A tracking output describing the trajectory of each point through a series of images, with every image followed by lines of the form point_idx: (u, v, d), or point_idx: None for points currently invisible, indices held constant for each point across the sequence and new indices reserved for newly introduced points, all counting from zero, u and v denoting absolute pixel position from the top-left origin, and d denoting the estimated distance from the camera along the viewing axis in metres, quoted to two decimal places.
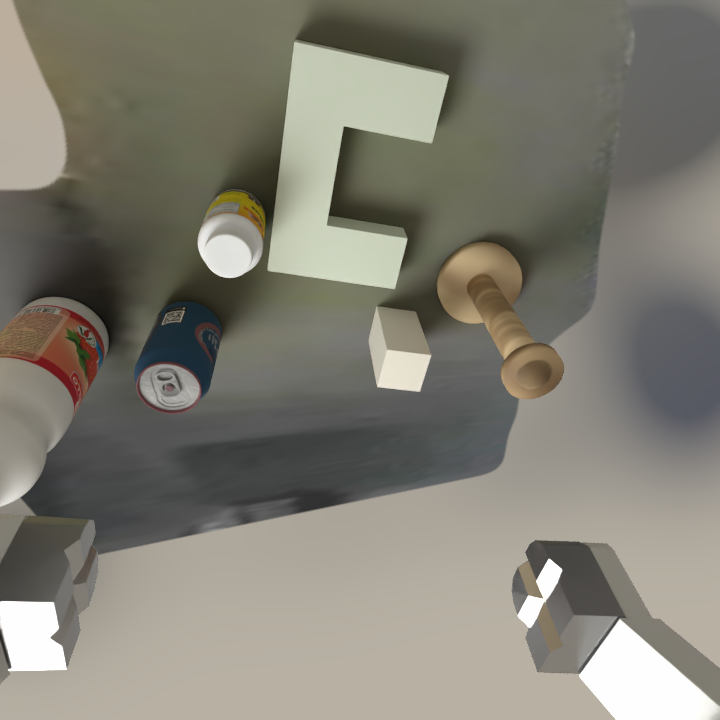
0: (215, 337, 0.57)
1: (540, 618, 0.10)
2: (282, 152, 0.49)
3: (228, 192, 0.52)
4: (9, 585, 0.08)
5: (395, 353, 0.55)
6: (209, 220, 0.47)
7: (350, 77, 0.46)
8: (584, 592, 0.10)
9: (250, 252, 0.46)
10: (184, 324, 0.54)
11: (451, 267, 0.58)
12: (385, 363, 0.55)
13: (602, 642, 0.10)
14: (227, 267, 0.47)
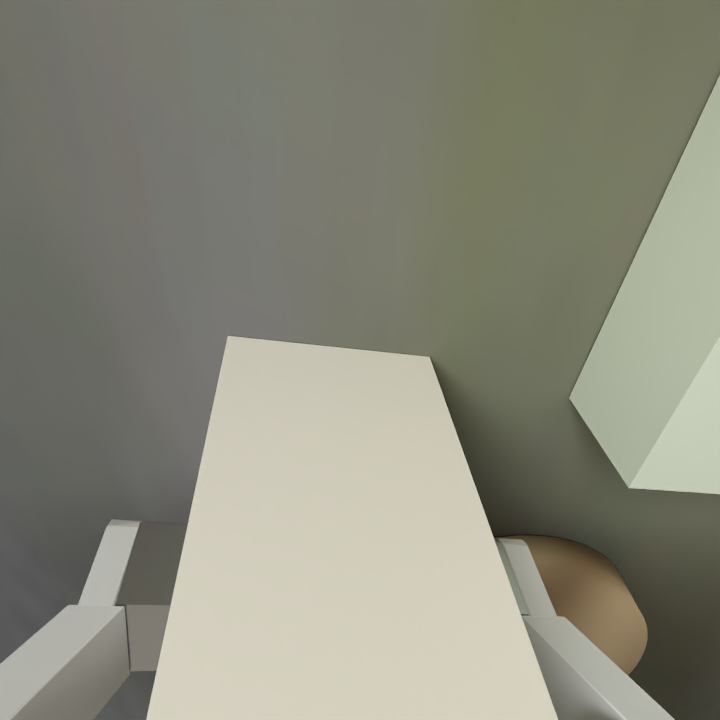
0: None
1: None
2: None
3: None
4: (139, 589, 0.08)
5: None
6: None
7: None
8: None
9: None
10: None
11: (601, 596, 0.16)
12: None
13: None
14: None
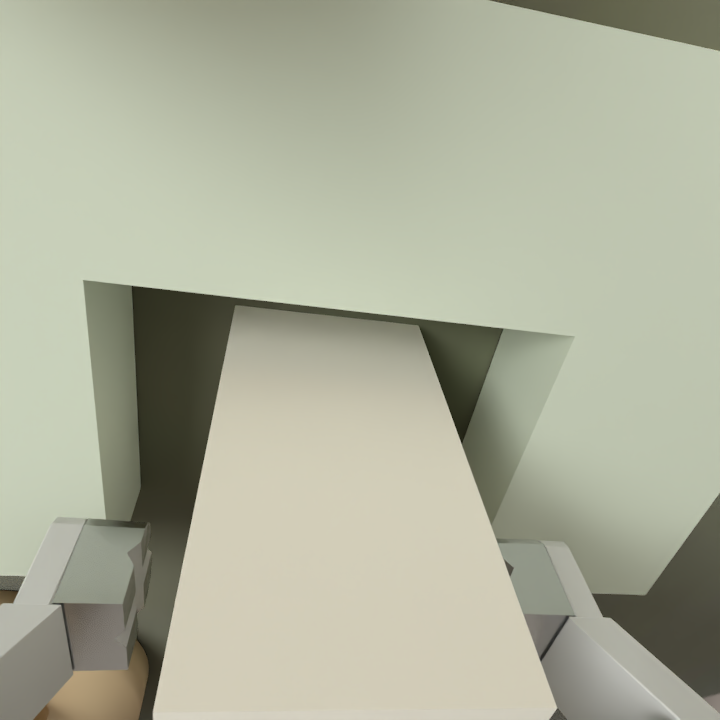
0: None
1: None
2: (504, 12, 0.08)
3: None
4: (79, 587, 0.08)
5: None
6: None
7: None
8: (535, 591, 0.09)
9: None
10: None
11: None
12: (426, 716, 0.06)
13: (553, 642, 0.10)
14: None
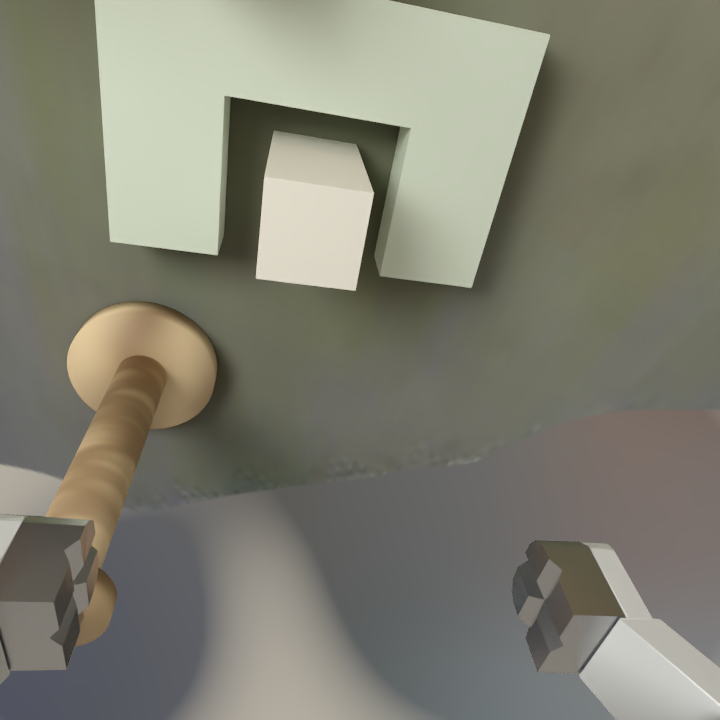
0: None
1: (540, 618, 0.10)
2: None
3: None
4: (9, 586, 0.08)
5: (362, 213, 0.24)
6: None
7: (485, 138, 0.28)
8: (584, 592, 0.10)
9: None
10: None
11: (169, 326, 0.34)
12: (336, 191, 0.23)
13: (602, 642, 0.10)
14: None
